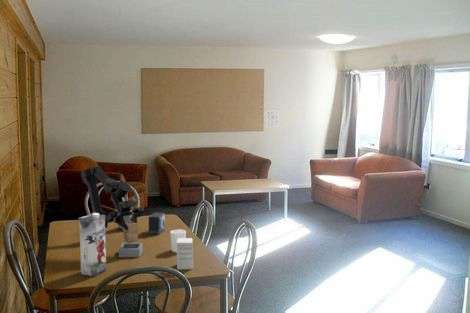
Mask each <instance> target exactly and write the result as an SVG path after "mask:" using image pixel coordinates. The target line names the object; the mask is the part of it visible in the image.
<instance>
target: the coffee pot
mask: <svg viewBox="0 0 470 313" xmlns="http://www.w3.org/2000/svg"><path fill="white" fill-rule="evenodd" d="M101 207H102V208H105V209H106V210H110V211H112V212H114V211H117V210H115V208H112V207H110V206H106V205H102V204H101ZM133 208H134V206H133V207H132V209H131V210H130V211H133ZM117 212H118V211H117ZM123 218H124V221H125V223H127V222H131V220H130V219H131V216H130V215H129V216H124V217H123ZM117 226H118V228H119V229H121V231H124V230H123V227H122V226H120V225H119V224H117Z"/></svg>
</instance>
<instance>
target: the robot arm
mask: <svg viewBox="0 0 470 313" xmlns="http://www.w3.org/2000/svg"><path fill="white" fill-rule="evenodd" d="M80 176H81V179H82V181H83V183H84V184H85V185H86V186H87V190H88V195H89V200H90V203H91V204H90V205H91V207H92V208H91V209H92V213H91V214H93V213H99V214H100V215H105V239H106V237H107V231H106V229H107V228H108V225H109V223H114V224H117V225H118V224H119V225H120V226H122V227H123V228H124V229H126V230H128V228H127V225H126V223H125V221H124V218H123V217H124V216H129V215H130V216H131V219H130V220H131V222H135V223H138V218H139V217H141V216H142V215H143V213H144V212H145V209H144V207H142V206H138V207H135V205H137V203H138V202H137V199H136V198H135V197H132V198H131V199H130V200H129V199H128V200H126V196H127V195H128V193H129V191H130V190H131V184H129V182H125V180H119V181H118V180H116V179H114V178H111V177H110V176H109V175H108V174H107V173H106V172H105V171H104V169H103V167H102V166H101V165H95V166H92V167H90V168H87V169H83V170H82V171H81V172H80ZM98 181H99V182H100V183H101V184H102V185H103V190H104V192H105V193H106V194H110V199H109V202H113V205H114V207H115V208H114V209H115V210H117V211H118V212H117V211H110V212H108V214H107V211H104V210H103V209H102V208H103V207H102V206H101V205H102V203H101V199H100V194H99V189H98V184H97V183H98ZM132 207H133V208H134V209H133V208H132ZM131 209H132V211H130V210H131Z"/></svg>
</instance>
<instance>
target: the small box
mask: <svg viewBox="0 0 470 313" xmlns="http://www.w3.org/2000/svg"><path fill="white" fill-rule="evenodd" d="M165 214H166V213H165V212H157V211H156V212H154V213H152V214H150V215H149V216H148V235H155V236H157V235H160V234H162V233H163V232H165V227H166V226H165V225H166V224H165V223H166V221H165V220H166V218H165V217H166V215H165Z"/></svg>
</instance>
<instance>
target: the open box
mask: <svg viewBox="0 0 470 313" xmlns="http://www.w3.org/2000/svg"><path fill="white" fill-rule="evenodd" d="M143 244H144V243H143V242H132V243H127V242H122V244H121V245H120V247H119V248H118V258H140V257H141V255H142V253H143V251H144V248H143V246H144V245H143Z"/></svg>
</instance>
